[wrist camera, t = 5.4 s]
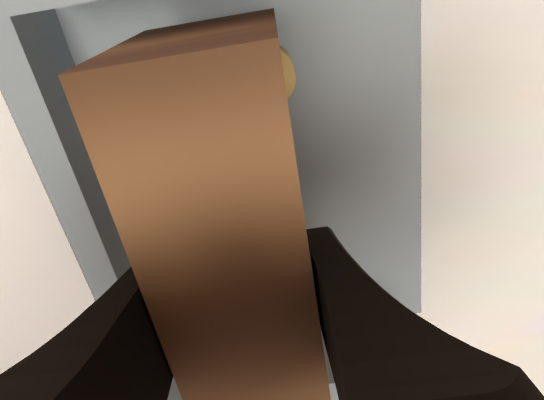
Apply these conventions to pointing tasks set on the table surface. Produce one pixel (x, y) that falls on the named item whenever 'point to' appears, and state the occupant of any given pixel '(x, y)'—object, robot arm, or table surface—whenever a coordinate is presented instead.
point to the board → (208, 202)
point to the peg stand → (302, 108)
